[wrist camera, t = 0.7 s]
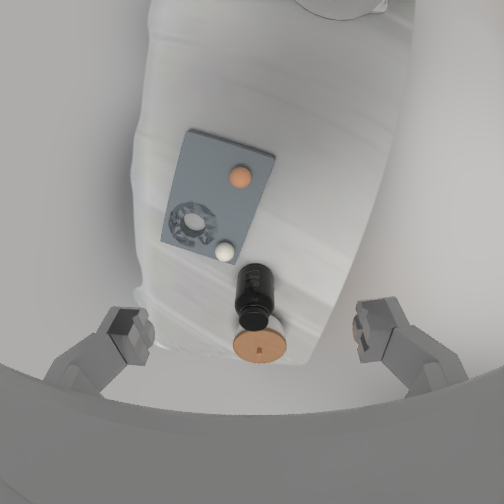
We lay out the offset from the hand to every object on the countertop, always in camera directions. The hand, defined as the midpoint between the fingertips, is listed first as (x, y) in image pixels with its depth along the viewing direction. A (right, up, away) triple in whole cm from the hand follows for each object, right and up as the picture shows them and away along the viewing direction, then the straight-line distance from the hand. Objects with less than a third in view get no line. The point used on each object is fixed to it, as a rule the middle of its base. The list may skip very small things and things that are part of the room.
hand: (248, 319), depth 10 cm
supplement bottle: (+1, -2, +44) cm, 44 cm away
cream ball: (-4, +2, +36) cm, 37 cm away
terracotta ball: (-2, +13, +30) cm, 33 cm away
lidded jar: (+2, -13, +50) cm, 52 cm away
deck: (-6, +12, +36) cm, 38 cm away
